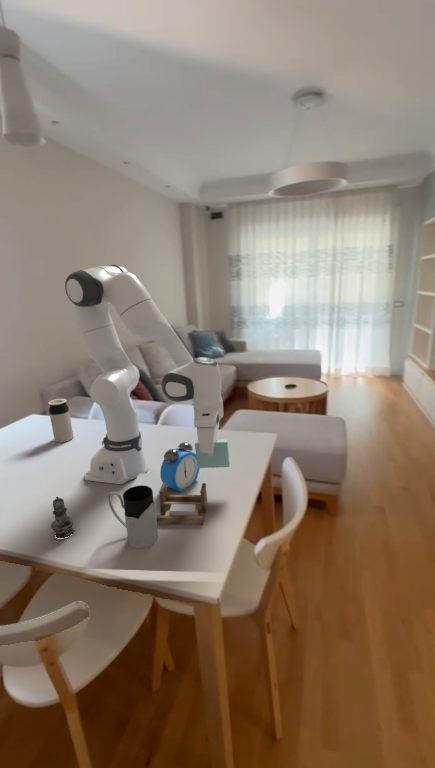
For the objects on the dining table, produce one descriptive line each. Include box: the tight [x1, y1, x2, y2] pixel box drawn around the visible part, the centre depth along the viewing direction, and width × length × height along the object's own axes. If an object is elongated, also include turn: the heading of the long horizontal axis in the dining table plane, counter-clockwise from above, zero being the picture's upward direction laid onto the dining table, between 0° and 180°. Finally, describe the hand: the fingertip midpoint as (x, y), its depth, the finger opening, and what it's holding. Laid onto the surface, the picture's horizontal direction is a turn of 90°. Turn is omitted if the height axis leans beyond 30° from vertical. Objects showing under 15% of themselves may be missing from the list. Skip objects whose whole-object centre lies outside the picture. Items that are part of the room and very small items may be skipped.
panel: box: [194, 439, 231, 469], centre depth 118 cm, size 10×2×8 cm, turn 84°
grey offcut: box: [169, 504, 196, 516], centre depth 107 cm, size 7×3×2 cm, turn 84°
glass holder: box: [107, 484, 159, 549], centre depth 100 cm, size 9×14×15 cm, turn 66°
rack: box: [156, 482, 208, 525], centre depth 109 cm, size 13×10×8 cm
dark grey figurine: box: [50, 496, 75, 538], centre depth 104 cm, size 6×6×12 cm
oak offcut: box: [165, 509, 198, 516], centre depth 108 cm, size 9×3×2 cm, turn 84°
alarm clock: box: [159, 441, 200, 492], centre depth 124 cm, size 13×6×15 cm, turn 143°
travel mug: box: [47, 398, 74, 443], centre depth 167 cm, size 8×8×18 cm
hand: (211, 452), depth 118 cm, fingers closed on panel, 2 cm apart
